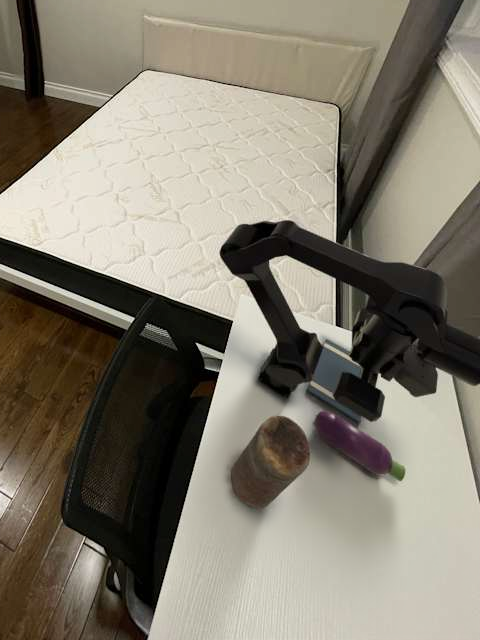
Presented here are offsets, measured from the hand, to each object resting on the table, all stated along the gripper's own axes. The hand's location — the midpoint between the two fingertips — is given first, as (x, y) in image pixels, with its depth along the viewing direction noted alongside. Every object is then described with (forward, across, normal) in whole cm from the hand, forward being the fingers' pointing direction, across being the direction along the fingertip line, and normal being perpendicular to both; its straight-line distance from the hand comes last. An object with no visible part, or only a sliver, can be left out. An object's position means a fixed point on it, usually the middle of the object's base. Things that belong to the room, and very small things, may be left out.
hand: (348, 381), depth 65 cm
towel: (+12, +8, -1) cm, 14 cm away
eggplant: (+12, -4, -5) cm, 14 cm away
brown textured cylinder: (+12, -20, +7) cm, 25 cm away
